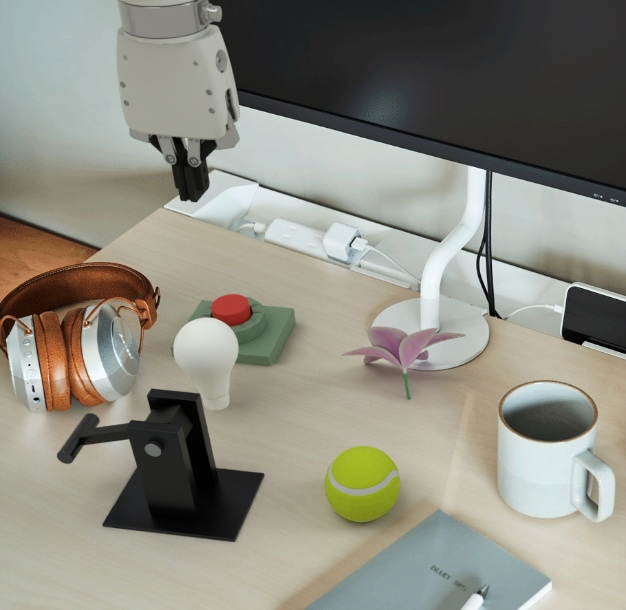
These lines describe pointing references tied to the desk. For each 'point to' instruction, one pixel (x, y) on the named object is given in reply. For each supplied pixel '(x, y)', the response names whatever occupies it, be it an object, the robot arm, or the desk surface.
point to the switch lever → (115, 430)
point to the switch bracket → (181, 479)
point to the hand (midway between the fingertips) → (194, 195)
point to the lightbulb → (207, 358)
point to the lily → (400, 346)
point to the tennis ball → (362, 484)
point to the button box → (257, 331)
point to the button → (231, 309)
